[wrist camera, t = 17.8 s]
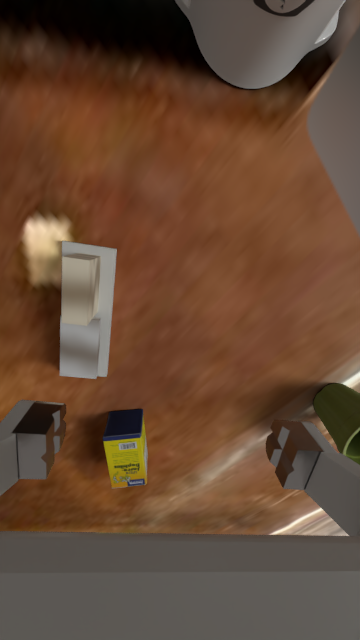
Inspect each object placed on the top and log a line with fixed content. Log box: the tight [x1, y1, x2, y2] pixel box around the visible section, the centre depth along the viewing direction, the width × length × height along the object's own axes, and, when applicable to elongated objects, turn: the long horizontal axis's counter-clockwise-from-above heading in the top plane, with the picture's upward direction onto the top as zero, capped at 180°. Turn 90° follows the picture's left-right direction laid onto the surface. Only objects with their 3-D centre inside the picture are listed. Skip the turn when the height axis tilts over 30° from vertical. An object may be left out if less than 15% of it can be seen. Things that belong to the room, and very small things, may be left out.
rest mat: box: [61, 241, 117, 377], centre depth 37 cm, size 20×7×1 cm, turn 171°
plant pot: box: [313, 383, 360, 465], centre depth 41 cm, size 12×12×11 cm
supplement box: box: [103, 409, 148, 488], centre depth 43 cm, size 6×6×11 cm
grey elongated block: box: [60, 253, 101, 379], centre depth 34 cm, size 17×5×6 cm, turn 171°
